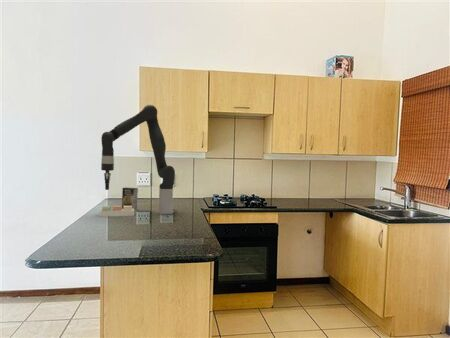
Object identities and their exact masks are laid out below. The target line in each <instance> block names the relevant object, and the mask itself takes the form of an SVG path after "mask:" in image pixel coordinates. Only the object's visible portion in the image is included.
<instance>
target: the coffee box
mask: <svg viewBox="0 0 450 338" xmlns="http://www.w3.org/2000/svg"><path fill="white" fill-rule="evenodd" d="M121 189H122V192H121V193H122V195H121V197H122V198H121V206H122V209H123V206H132V209H134V212H135V211H137V210H138V197H139V195H138V194H139V193H138V191H139V188H138V187H122V188H121Z"/></svg>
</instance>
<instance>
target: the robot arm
mask: <svg viewBox="0 0 450 338" xmlns="http://www.w3.org/2000/svg"><path fill="white" fill-rule="evenodd" d="M145 122H146V125H147V128H148V135H149V141H150V145H151V148H152V152H153V156H154V159H155V164H156V172H157V174H158V177H159V178H161V179H162V182H161V183H160V184H159V187H158V188H159V189H158V190H159V192H158V193H159V194H158V195H159V196H158V197H159V198H158V214H160V215H171V214H173V213H174V199H173V198H174V197H173V196H174V184H175V177H176V176H175V175H176V172H175V168H174V167H173V166H172V165H168V164H167V161H166V149H167V146H166V145H167V144H166V142H165V136H164V135H163V132H162V129H161V126H160V124H159V120H158V108H157V107H156V106H155V105H153V104H147V105H145V106H144V107H143V109H142V110H141V111H139V112H138V113H137V114H135V115H133V116H132V117H130V118H128V119H125V120H124V121H122V122H121V123H119V124H117V125H116V126H115V127H114V128H113V129H111V130H109V131H105V132H103V133H102V134H101V139H100V140H101V149H102V150H101V160H100V161H101V163H100V164H101V168H100V170H101V171H105V172H104V173H103V176H104V177H103V178H104V189H105V191H106V190H107V191H108V190H110V181H111V172H110V171H114V170H115V169H114V168H115V164H114V163H115V162H114V161H115V158H114V157H115V156H114V155H115V154H114V152H115V150H114V142H115V141H116V140H118V139H119V138H120V137H122V136H124V135H125V134H127V133H129V132H130V131H132V130H133V129H134V128H136V127H138V126H139V125H141V124H143V123H145Z"/></svg>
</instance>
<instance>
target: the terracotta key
mask: <svg viewBox="0 0 450 338" xmlns="http://www.w3.org/2000/svg"><path fill="white" fill-rule="evenodd" d="M112 209H113V211H121V210H122V205H113V206H112Z"/></svg>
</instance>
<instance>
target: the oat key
mask: <svg viewBox="0 0 450 338" xmlns="http://www.w3.org/2000/svg"><path fill="white" fill-rule="evenodd" d="M123 210H132V206H123Z"/></svg>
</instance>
